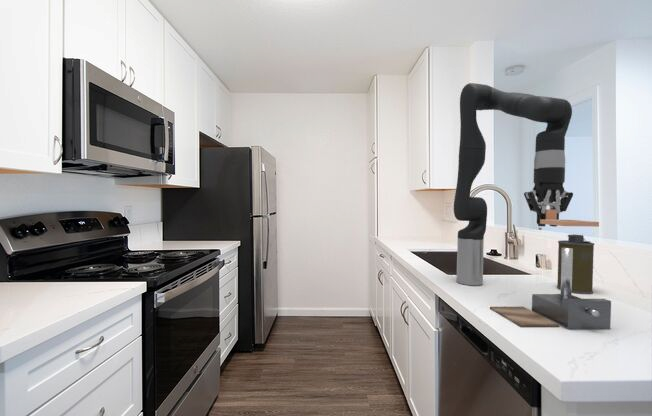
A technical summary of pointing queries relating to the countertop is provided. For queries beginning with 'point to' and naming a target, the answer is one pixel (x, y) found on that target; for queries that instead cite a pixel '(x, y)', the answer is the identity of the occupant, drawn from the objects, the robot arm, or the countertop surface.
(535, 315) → the board
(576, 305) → the block
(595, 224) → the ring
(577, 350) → the countertop surface
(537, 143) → the robot arm
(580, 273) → the canister
